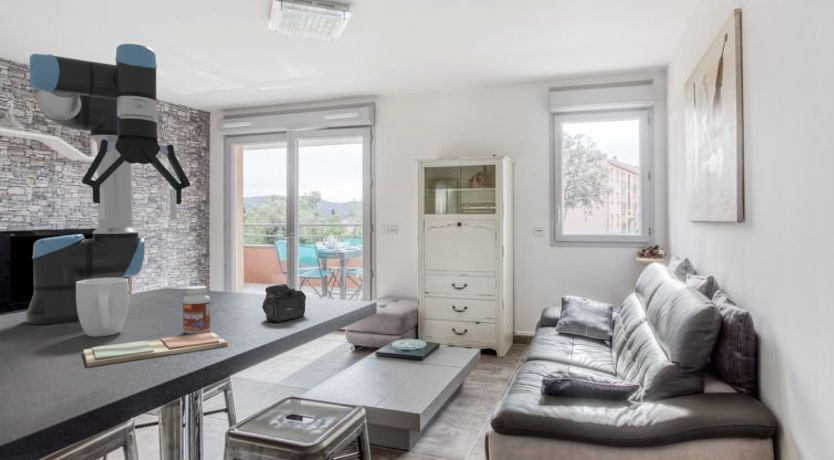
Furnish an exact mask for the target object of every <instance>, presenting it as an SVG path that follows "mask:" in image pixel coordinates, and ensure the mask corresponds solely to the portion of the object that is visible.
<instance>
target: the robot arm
mask: <svg viewBox="0 0 834 460" xmlns="http://www.w3.org/2000/svg"><path fill="white" fill-rule="evenodd" d="M115 51H116V52H115V58H114V60H115V64H111V63H103V62H97V61H88V60H83V59H77V58H70V57H64V56H58V55H53V54H42V53H32V54H31V55H30V56H29V77H30V78H29V81H30V87H31V88H32V89H34V90H36V91H38V93H37V96H36V103H37V104H36V105H37V107H38V109H39V111H40V112H41V113H42V115H44V117H46V118H47V119H49V120H50V121H52V122H54V123H55V124H57V125H60V126H63V127H65V128H68V129H72V130H78V131H87V132H90V138H91V140H93V141H94V142H95V143H96V146H97V147H96V149H97V151H96V152H97V154H96V156H95V157H94V159H93V160H92V162H91V164H90V166H89V168H88V169H87V171H86V173H85V174H84V176H83V178H82V179H81V183H82V184H84V185H86V186H89V187H91V189H92V202H93V204H98V206H97V207H98V209H97V210H98V226H97V228H96V229H95V230H93V231H92V238H85V236H84V234H82V233H80V234H78V233H77V234H69V235H60V236H53V237H45V238H41V239H38V240H36V241H35V242H34V243H33V249H32V256H31V258H32V260H33V264H32V265H33V268H32V269H33V294H32V297H31V301H30V303H29V306H28V309H27V311H26V314H25V316H26V317H25V318H26V319H25V321H26V324H31V325H51V324H52V325H54V324H63V323H64V324H65V323H70V322H72V323H73V322H77V321H79V318H78V313H77V304H76V282H78V281H82V280H89V279H101V278H127V277H129V278H130V277H136V276H138V275H139V273H140V272H141V271H142V267H143V265H144V264H143V263H144V259H145V253H146V252H145V251H146V250H145V249H146V247H145V246H146V245H145V244H146V243H145V239H144V238H143V237H142V236H139V231H138V230H137V228H135V227H134V226H133V179H132V178H133V176H132V175H133V173H132V171H133V170H132V168H133V167H132V164H133V165H134V164H135V165H136V164H139V165H148V164H151V166H152V167H153V168H154V169H155V170H156V171H157V172H158V173H159V174H160V175H161V176H162V177H163V179H165V181H167V183H169V185H170V186H171V187H172V188H173V189H170V190H169V203H170V204H169V205H170V208H169V209H170V213H169V214H170V215H169V216H170V220H178V219H177V218H178V217H177V216H178V215H177V214H178V212H177V205H181V204H182V191H183V190H184V189H185V188H188V187H190V186H191V183H190V180H189V178H188V177H187V175H186V173H185V171H184V169H183V167H182V166H181V163H180V162H179V161H178V158H177V156H176V154H175V149H174V148H175V147H174V145H173V144H168V145H160V144H159V141H158V124H157V122H156V121H157V120H158V106H157V105H158V103H157V68H158V64H157V59H156V58H157V56H156V52H155V51H154V50H153V49H152V48H150V47H148V46H145V45H142V44H136V43H122V44H119V45H117V46H116V49H115ZM160 152H162V154H163V155H164V156H166V157H167V159H168V162H169V164H170V165H171V168H172V169H173V171H174V173H175V175H176V177H177V178H178V180H179V181H178V180H177V179H176V178H175V177H174V176H173V174H172V173H171V172H170V171H169V170H168V169H167V168H166V166H165V165H163V163H161V160H159V158H158V157H157V156H158V154H159V153H160ZM96 172H97V178H96V179H95V180H93V176H94V175H95V173H96Z"/></svg>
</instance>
